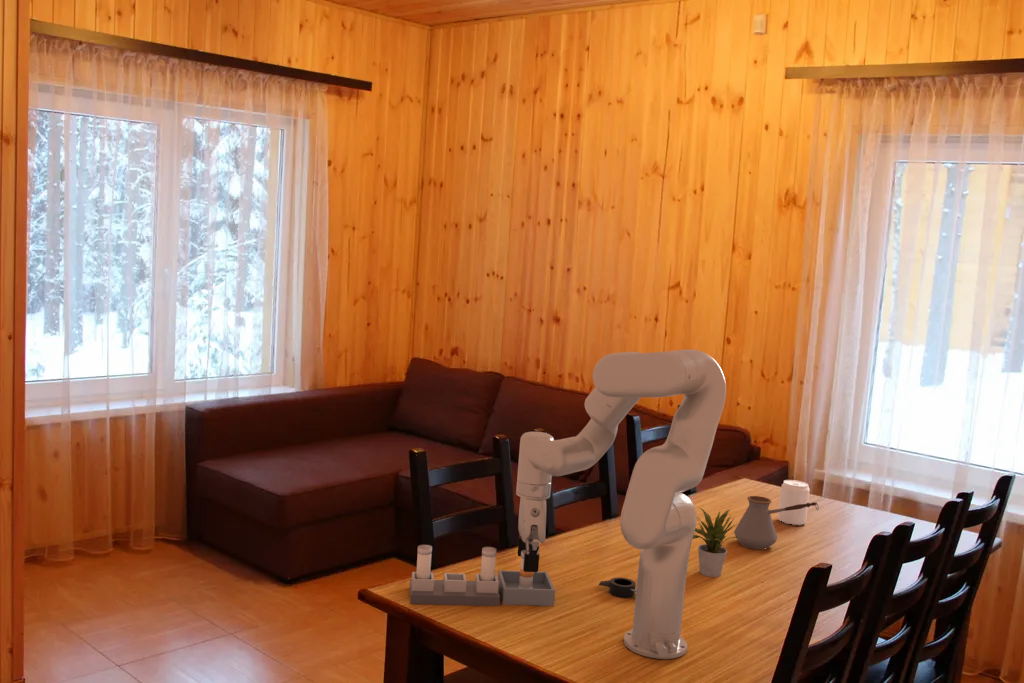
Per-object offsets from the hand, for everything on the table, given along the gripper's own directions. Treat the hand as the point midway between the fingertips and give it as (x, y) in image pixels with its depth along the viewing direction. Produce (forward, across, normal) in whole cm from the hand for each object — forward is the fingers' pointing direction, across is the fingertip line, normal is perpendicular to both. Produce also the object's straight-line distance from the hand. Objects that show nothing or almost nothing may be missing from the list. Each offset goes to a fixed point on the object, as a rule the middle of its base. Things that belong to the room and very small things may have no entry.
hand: (527, 563), depth 217 cm
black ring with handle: (+8, +3, -23) cm, 24 cm away
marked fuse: (+6, 0, 0) cm, 6 cm away
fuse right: (+5, -2, +9) cm, 11 cm away
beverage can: (+7, +63, -89) cm, 109 cm away
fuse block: (+7, -2, +16) cm, 18 cm away
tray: (+7, 0, 0) cm, 7 cm away
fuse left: (+5, -2, +23) cm, 24 cm away
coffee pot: (+8, +38, -73) cm, 83 cm away
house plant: (+7, +19, -49) cm, 53 cm away
